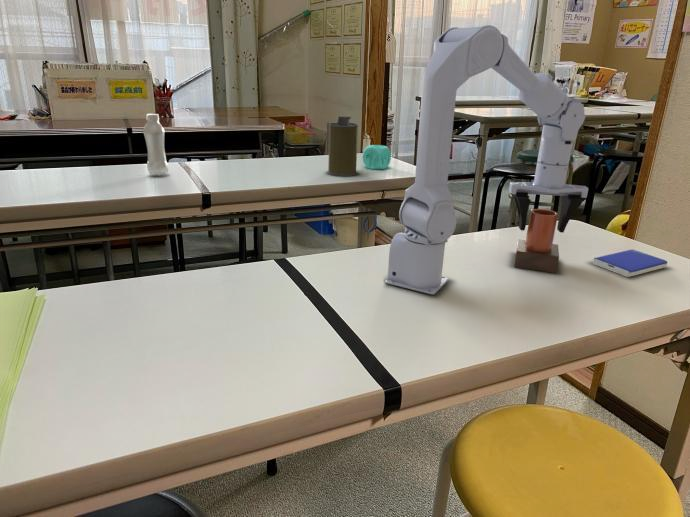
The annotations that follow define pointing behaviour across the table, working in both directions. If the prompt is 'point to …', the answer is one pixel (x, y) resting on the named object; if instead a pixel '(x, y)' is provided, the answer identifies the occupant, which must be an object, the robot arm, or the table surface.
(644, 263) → the hard drive
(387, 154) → the decorative dice
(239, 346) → the table surface
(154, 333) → the table surface
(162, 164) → the plastic bottle
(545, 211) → the cup
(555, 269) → the block
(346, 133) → the canister
